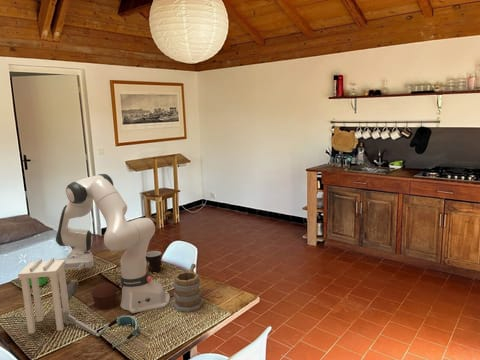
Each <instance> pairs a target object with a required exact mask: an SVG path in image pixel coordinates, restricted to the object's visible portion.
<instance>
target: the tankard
mask: <svg viewBox="0 0 480 360" xmlns="http://www.w3.org/2000/svg"><path fill="white" fill-rule="evenodd" d="M196 266H197V265H196V264H195V263H192V264H191V266H190V268H189V270H188V271H187V270H186V271H183V272H179V273H177V274H176V275H175V276H174V278H173V279H174V281H173V282H172V286H173V289H174V292H173V298H174V301H173V303H172V307H173V308H174V309H175V310H176V311H177V312H182V311H183V313H184V312H186V313H190V311H191V312H193V311H196V310H199V309H200V308H201V307H202V304H204V300H203V299H202V297H201V295H202V291H201V289H200V285H201V279H200V276H199V274H197V272H195V271H194V270H195V269H196Z"/></svg>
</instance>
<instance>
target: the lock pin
mask: <svg viewBox="0 0 480 360" xmlns="http://www.w3.org/2000/svg"><path fill="white" fill-rule="evenodd" d="M78 286H79V280H78V279H71V280H70V282H69V283H68V284H67V293H68V302H69V301H70V299H71V298H72V296H73V294H74V293H75V291H76V290H77V287H78ZM70 297H71V298H70ZM60 301H61V309H63V307H62V299H61V296H60Z"/></svg>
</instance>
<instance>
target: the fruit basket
mask: <svg viewBox="0 0 480 360" xmlns="http://www.w3.org/2000/svg"><path fill="white" fill-rule="evenodd" d="M48 279H49V276H48V277H38V280H39V286H42V285H43V284H44V285H46V284H47V283H48ZM46 282H47V283H46ZM44 285H43V286H44ZM29 286H32V282H31V278H29ZM43 286H42V287H43Z"/></svg>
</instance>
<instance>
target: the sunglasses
mask: <svg viewBox="0 0 480 360" xmlns="http://www.w3.org/2000/svg"><path fill="white" fill-rule="evenodd" d="M115 324H118V325H119V324H131V325H129V326H130V327H133V329H134V330H133V331H132V332H131V333H130V334H129V335H128V336H126V337H125V338H124V339H123V340H122V341H120V342H118V343H116V344H114V345H112V346H110V347H109V349H111V348H115V346H116V347H118V346H120V345H121V344H123V343H125V342H126V341H128V340H131V339H132V338H133V337H134V336H136V335H137V336H138V335H139V328H138V322H137V318H136V317H134V316H133V315H122V316H119V317H116V318H115V320H113V321H111V322H110V323H109V324H107V325H106V326H104V327H103V329H101V331H100V332H99V333H98V336H96V337H95V339H98V338H99V337H100V336H101V335H102V334H103V332H104V331H105V330H106V329H107V328H111V327H112V326H114V325H115ZM117 345H118V346H117Z"/></svg>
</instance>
